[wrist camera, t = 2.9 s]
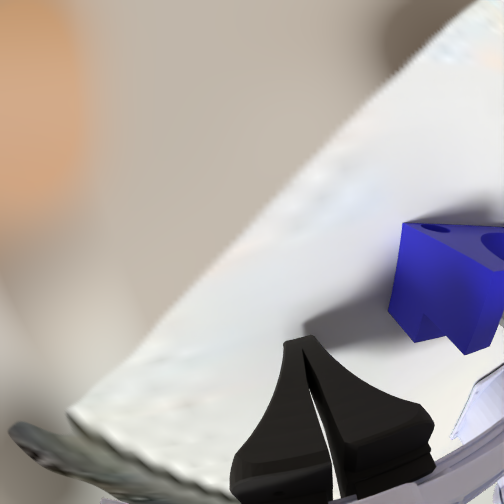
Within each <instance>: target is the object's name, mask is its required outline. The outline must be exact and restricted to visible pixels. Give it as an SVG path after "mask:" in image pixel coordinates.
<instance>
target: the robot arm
mask: <svg viewBox="0 0 504 504" xmlns="http://www.w3.org/2000/svg"><path fill="white" fill-rule="evenodd" d="M283 347H284V351H283V361H282V366H281V371H280V375H279V379H278V382H277V385H276V388H275V391H274V394H273V396H272V399H271V401H270V403H269V406H268V408H267V410H266V411H265V413H264V415H263V417H262V419H261V421H260V422H259V424H258V425H257V427H256V428H255V430H254V431H253V433H252V434H251V436H250V437H249V438H248V440H247V441H246V442H245V443H244V445H243V446H242V447H241V448H240V449H239V450H238V452H237V453H236V454H235V456H234V459H233V463H232V467H231V472H230V491H231V493H232V494H233V495H234V496H235V497H236V498H237V499H238V500H239V501H240V502H241V503H242V504H466V503H468V502H469V501H471V500H472V499H474V498H475V497H476V496H478V495H479V494H481V493H482V492H483V491H485V490H486V489H487V488H489V487H490V486H491V485H493V484H494V483H495V482H497V484H496V486H495V490H494V494H493V504H504V365H503V366H502V367H500V368H499V369H498V370H496V371H495V372H493V373H492V374H490V375H489V376H487V377H486V378H484V379H483V380H481V381H480V382H478V383H477V384H476V385H475V386H474V388H473V390H472V393H471V395H470V397H469V400H468V402H467V404H466V406H465V408H464V410H463V413H462V415H461V417H460V419H459V421H458V423H457V425H456V427H455V428H454V430H453V432H452V434H451V436H450V439H451V440H453V439H455V438H456V437H458V438H459V439H460V441H461V443H462V444H463V446H461V447H459V448H458V449H456V450H454V451H453V452H451V453H449V454H447V455H446V456H444V457H442V458H440V459H438V460H437V461H435V462H434V460H433V458H432V456H431V454H430V452H431V448H430V446H429V444H428V441H429V439H430V437H431V434H432V432H433V430H434V426H435V425H434V422H433V420H432V418H431V417H430V415H429V414H428V413H427V412H426V410H425V409H424V408H423V407H422V406H421V405H420V404H418V403H414V402H410V401H407V400H403V399H400V398H397V397H395V396H392V395H390V394H387V393H385V392H383V391H381V390H379V389H377V388H375V387H373V386H371V385H369V384H368V383H366V382H364V381H363V380H361V379H360V378H358V377H357V376H355V375H354V374H352V373H351V372H350V371H348V370H347V369H346V368H345V367H343V366H342V365H341V364H340V363H339V362H338V361H336V360H335V359H334V358H333V357H332V356H331V355H330V354H329V353H328V352H327V351H326V350H325V349H324V348H323V347H322V345H321V344H320V343H319V342H318V341H317V339H316V338H315V336H313V335H309V336H305V337H301V338H297V339H293V340H289V341H285V342H284V343H283ZM309 389H310V391H309ZM310 392H311V395H312V397H313V400H314V402H315V405H316V408H317V410H318V413H319V415H320V418H321V421H322V423H323V426H324V429H325V432H326V436H327V440H328V444H329V448H330V452H331V456H332V460H333V465H334V469H335V473H336V478H337V482H338V487H339V491H340V496H341V499H337V500H333V490H332V489H333V477H332V463H331V459H330V455H329V451H328V448H327V445H326V442H325V439H324V436H323V433H322V430H321V427H320V424H319V421H318V418H317V414H316V411H315V408H314V405H313V401H312V398H311V395H310ZM100 504H128V503H125V502H122V501H117V500H112V499H108V498H101V502H100Z"/></svg>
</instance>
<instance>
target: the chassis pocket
mask: <svg viewBox="0 0 504 504" xmlns="http://www.w3.org/2000/svg"><path fill="white" fill-rule="evenodd" d="M499 324H500V325H501V326H502V327H503V328H504V311H503V314H502V317H501V320H500V322H499Z"/></svg>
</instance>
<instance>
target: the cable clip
mask: <svg viewBox="0 0 504 504" xmlns="http://www.w3.org/2000/svg"><path fill="white" fill-rule="evenodd" d="M503 311H504V227H492V226H473V225H451V224H424V223H403V224H402V233H401V241H400V248H399V255H398V261H397V267H396V273H395V278H394V284H393V289H392V294H391V299H390V303H389V308H388V312H389V313H390V314H391V315H392V317H393V318H394V319H395V320H396V321H397V323H398V324H399V325H400V326H401V327H402V329H403V330H404V331H405V332H406V333H407V335H408V336H409V337H410V338H411V339H412V341H413V342H414V343H416V342H421V341H425V340H430V339H434V338H439V337H443V336H447V337H448V338H449V339H450V340H451V341H452V342H453V344H454V345H455V346H456V347H457V348H458V349H459V350H460V351H461V352H462V353H463V354H464V355H467V354H470V353H473V352H476V351H478V350H481V349H484V348H486V347H489V346H490V344H491V342H492V340H493V337H494V335H495V332H496V330H497V327H498V325H499V322H500V320H501V317H502V314H503Z"/></svg>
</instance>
